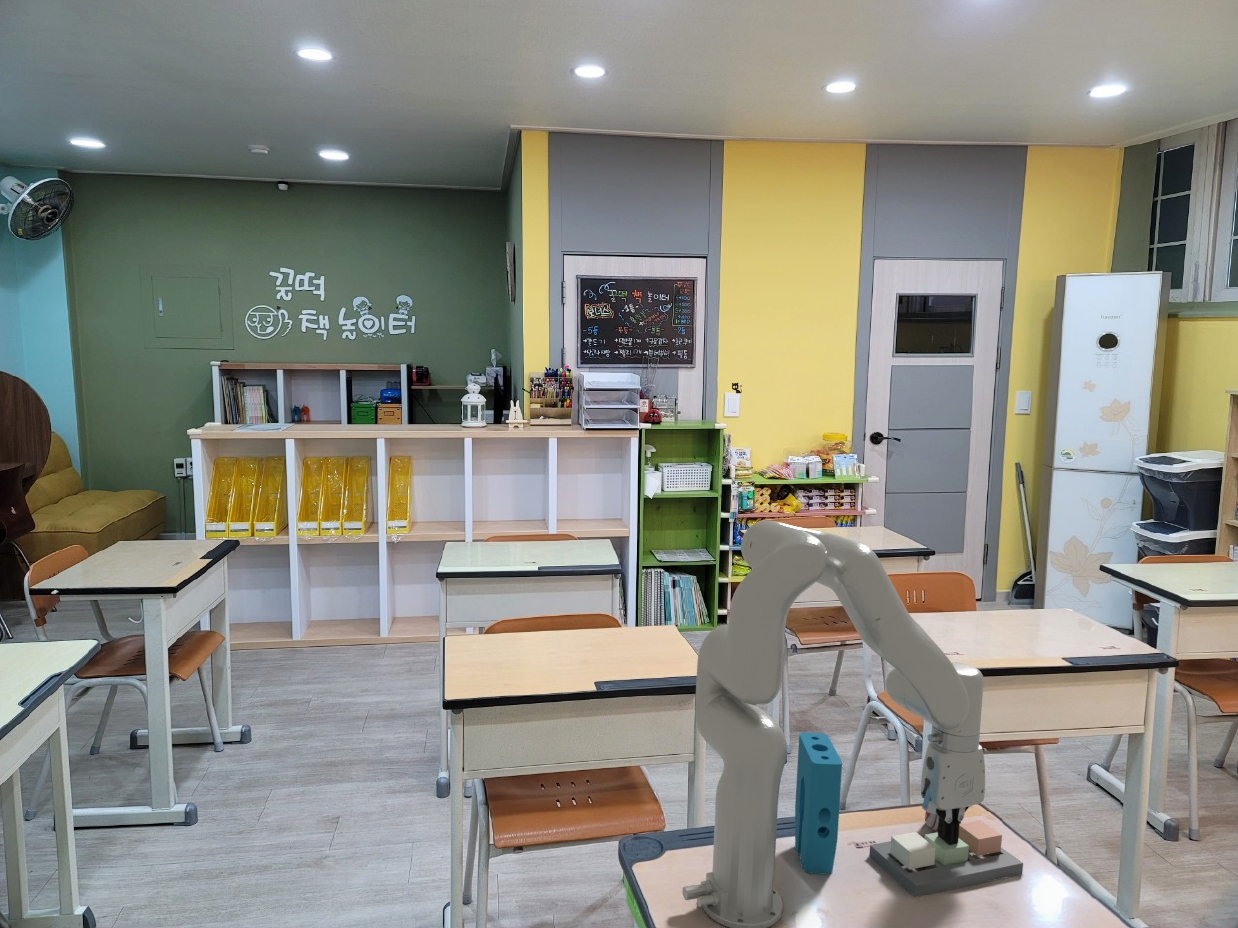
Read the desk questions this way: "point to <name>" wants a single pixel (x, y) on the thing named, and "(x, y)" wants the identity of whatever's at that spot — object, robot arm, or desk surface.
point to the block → (817, 802)
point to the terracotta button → (980, 837)
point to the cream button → (912, 850)
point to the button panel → (947, 870)
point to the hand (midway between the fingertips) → (947, 839)
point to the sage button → (948, 850)
